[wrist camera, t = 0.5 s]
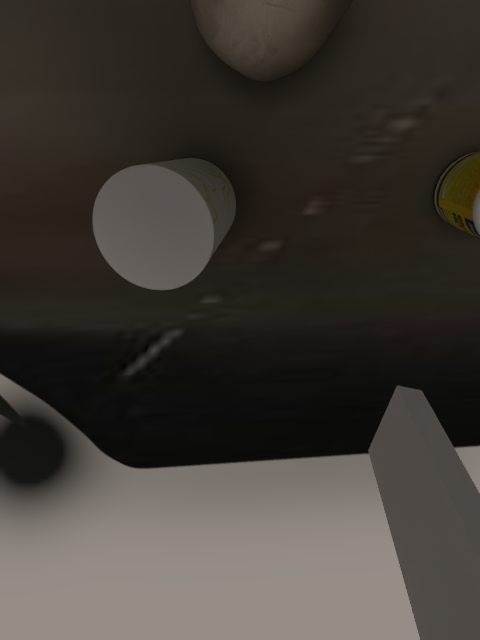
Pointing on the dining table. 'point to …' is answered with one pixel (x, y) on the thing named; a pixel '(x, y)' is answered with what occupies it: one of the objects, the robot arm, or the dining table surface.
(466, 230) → the pill bottle
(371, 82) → the dining table surface
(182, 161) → the white cylinder
